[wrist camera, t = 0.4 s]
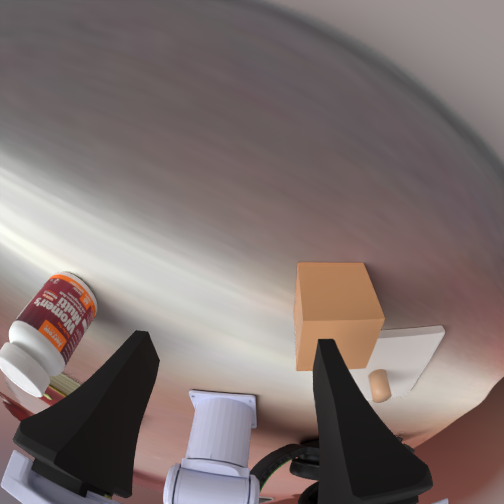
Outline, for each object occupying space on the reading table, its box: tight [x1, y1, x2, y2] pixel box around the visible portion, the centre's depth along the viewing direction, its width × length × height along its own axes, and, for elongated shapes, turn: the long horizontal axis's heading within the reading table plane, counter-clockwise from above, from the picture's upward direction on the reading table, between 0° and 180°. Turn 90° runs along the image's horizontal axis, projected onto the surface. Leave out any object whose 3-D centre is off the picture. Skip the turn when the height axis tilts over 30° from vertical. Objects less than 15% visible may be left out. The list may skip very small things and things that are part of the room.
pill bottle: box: [0, 272, 97, 397], centre depth 20 cm, size 6×6×11 cm
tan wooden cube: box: [294, 262, 385, 371], centre depth 20 cm, size 5×5×6 cm
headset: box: [249, 437, 415, 504], centre depth 33 cm, size 18×14×29 cm
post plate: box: [314, 325, 445, 403], centre depth 26 cm, size 12×12×4 cm
